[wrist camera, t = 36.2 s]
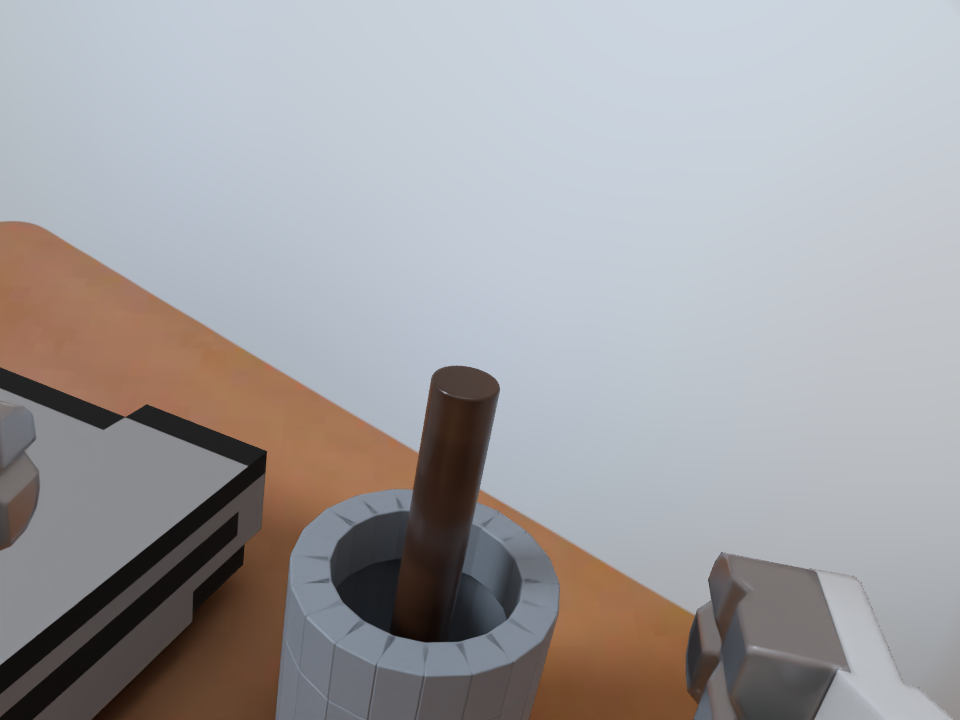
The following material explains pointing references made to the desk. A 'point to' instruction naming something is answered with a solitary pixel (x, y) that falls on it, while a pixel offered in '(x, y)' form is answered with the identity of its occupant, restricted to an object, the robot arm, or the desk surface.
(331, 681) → the hollow cylinder
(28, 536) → the game console
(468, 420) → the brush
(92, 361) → the desk surface
